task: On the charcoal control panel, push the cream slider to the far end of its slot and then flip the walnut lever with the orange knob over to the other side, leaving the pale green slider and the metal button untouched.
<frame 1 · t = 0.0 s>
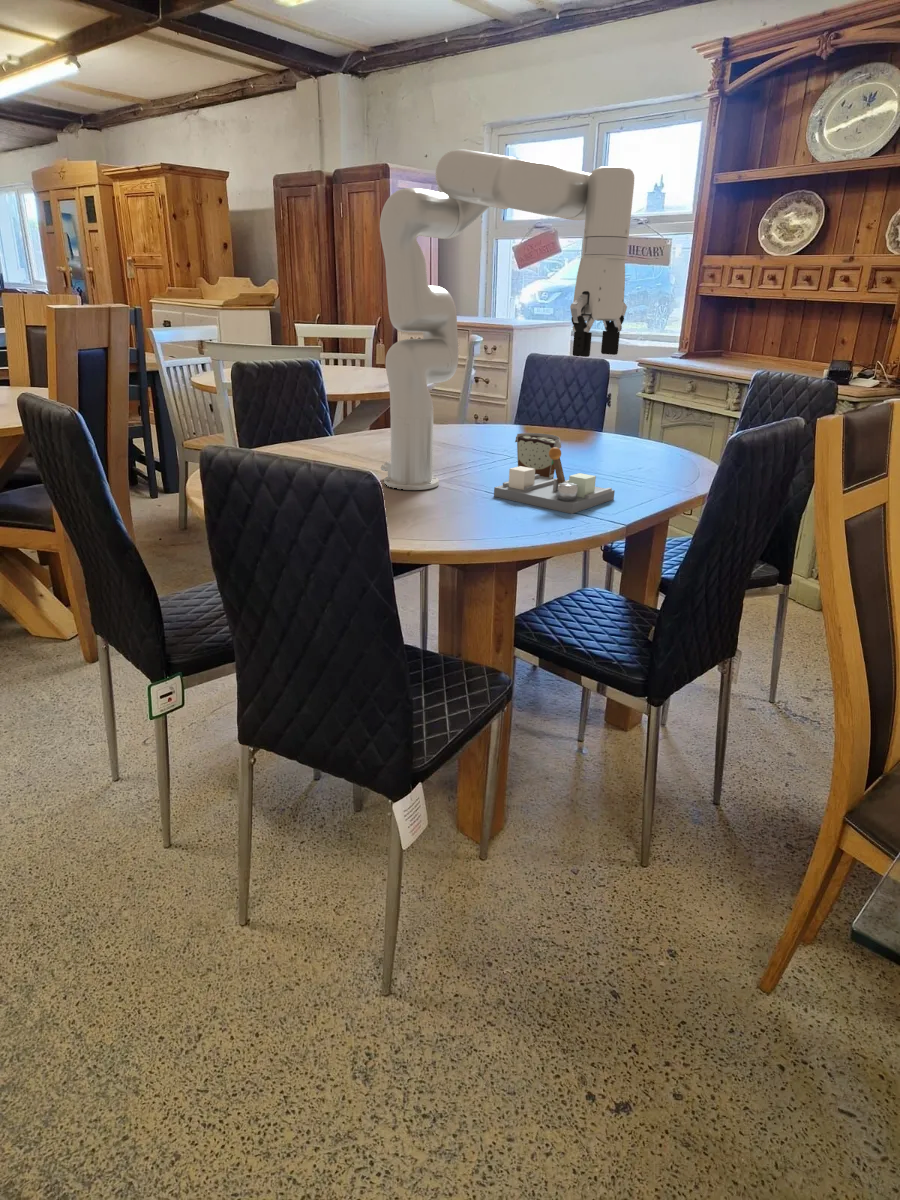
hand: (595, 355, 136), 31 cm above the table, fingers open, 9 cm apart
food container: (540, 477, 186), on the table
panel: (553, 497, 166), on the table
button: (567, 492, 156), point 4 cm above the table, slide at 0.0 cm
slider green: (581, 485, 160), point 4 cm above the table, slide at 0.0 cm
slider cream: (521, 477, 165), point 4 cm above the table, slide at 0.0 cm
lever: (558, 468, 161), point 7 cm above the table, hinge at 28.0°
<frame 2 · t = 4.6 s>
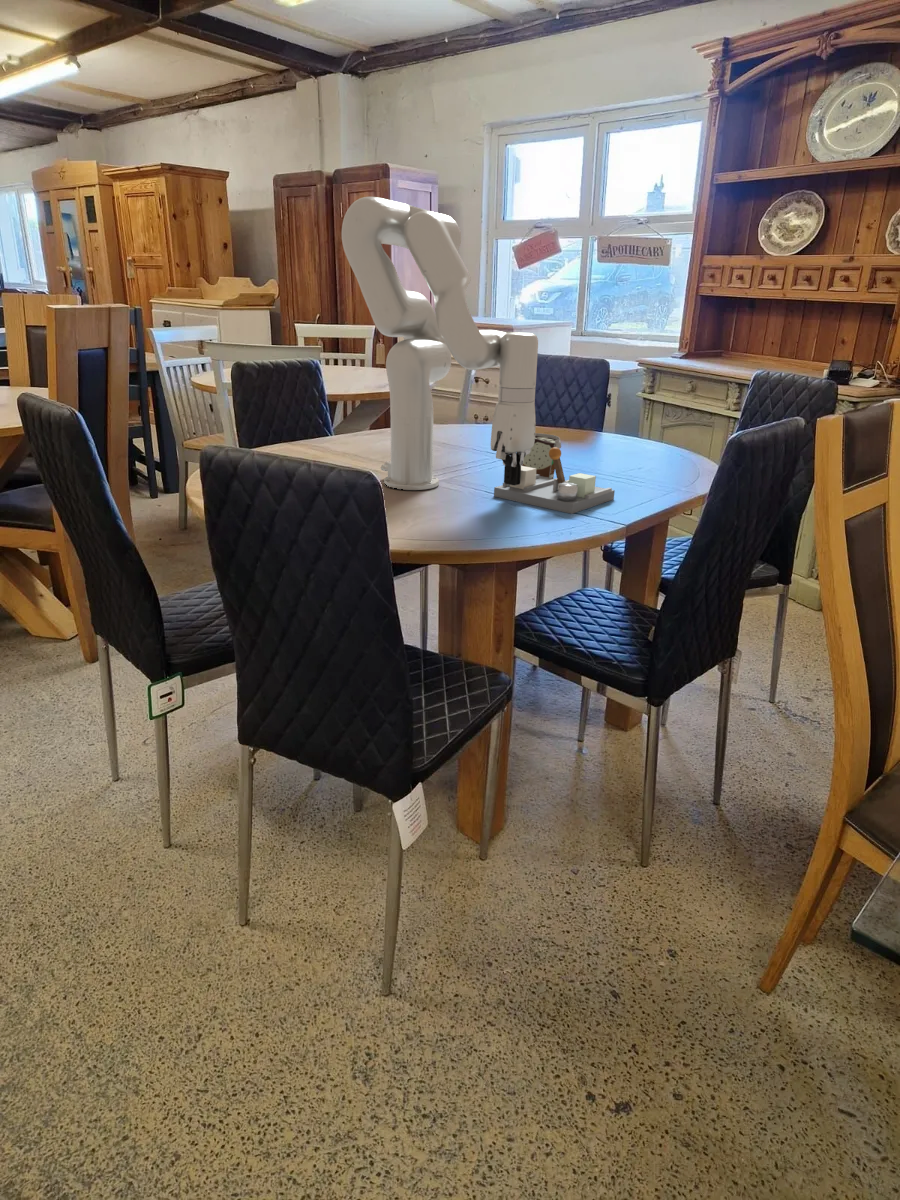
hand: (511, 483, 163), 3 cm above the table, fingers closed
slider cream: (523, 477, 166), point 4 cm above the table, slide at 0.5 cm, touching gripper
everything else where it was.
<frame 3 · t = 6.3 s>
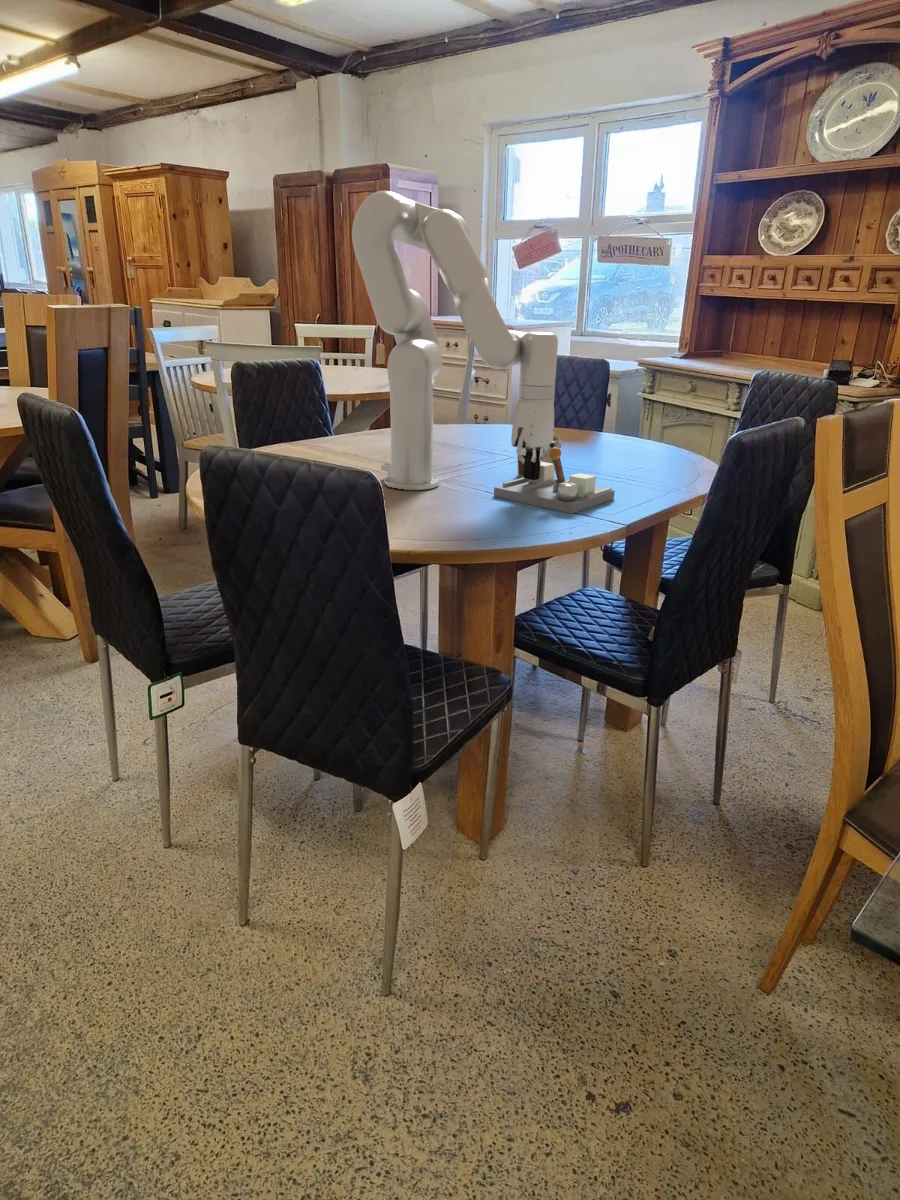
hand: (531, 478, 168), 3 cm above the table, fingers closed
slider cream: (541, 472, 171), point 4 cm above the table, slide at 7.6 cm, touching gripper
everything else where it was.
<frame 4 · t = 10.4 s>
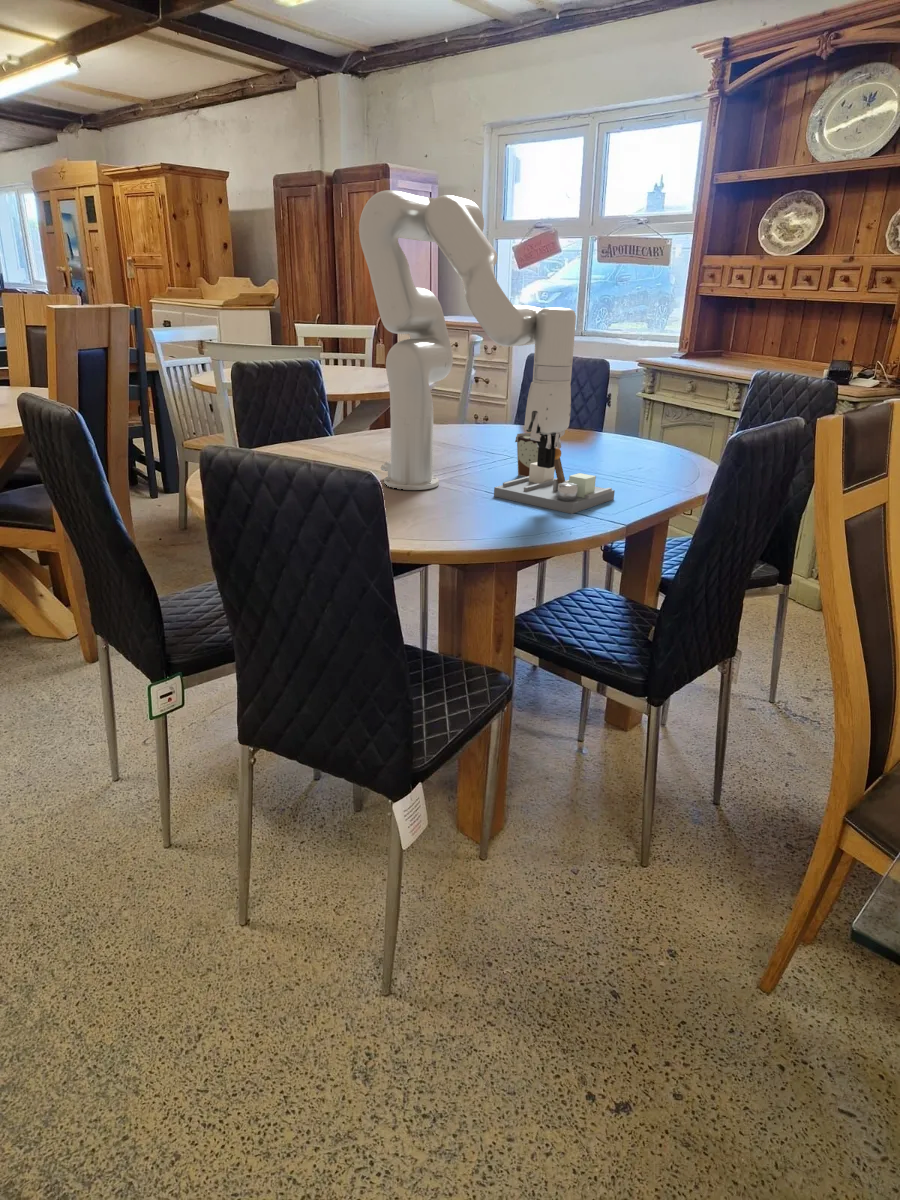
hand: (545, 466, 157), 8 cm above the table, fingers closed
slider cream: (541, 472, 171), point 4 cm above the table, slide at 7.7 cm
lever: (558, 468, 161), point 7 cm above the table, hinge at 27.7°, touching gripper
everything else where it was.
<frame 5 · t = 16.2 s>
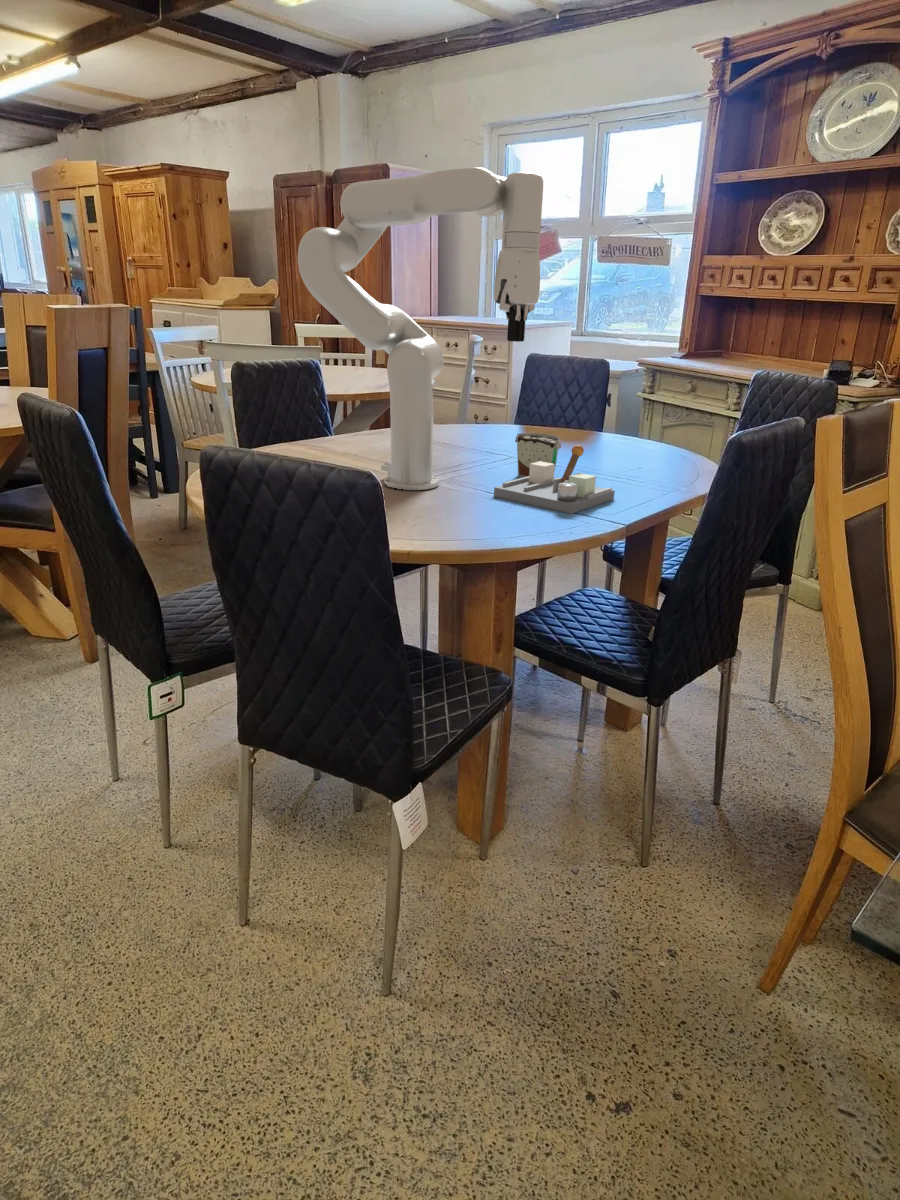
hand: (515, 340, 158), 32 cm above the table, fingers closed
lever: (570, 466, 164), point 7 cm above the table, hinge at -35.7°
everything else where it was.
at the end: lever at -36° (first picture: +28°); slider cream slide at 7.7 cm; slider green slide at 0.0 cm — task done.
